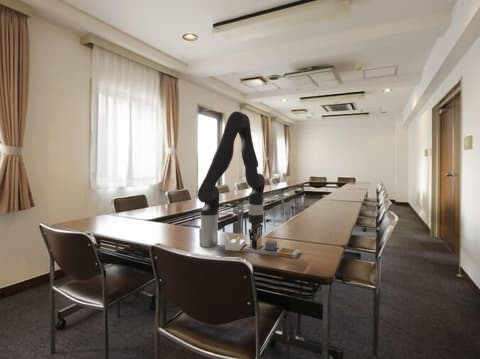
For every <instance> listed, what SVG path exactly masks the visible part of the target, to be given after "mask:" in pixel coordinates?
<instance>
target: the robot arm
mask: <svg viewBox="0 0 480 359" xmlns="http://www.w3.org/2000/svg"><path fill="white" fill-rule="evenodd" d="M238 135H239V138H240V143H241V145H240V146H241V149H240V153H241V158H242V163H243V166H244V171H245V174H244V175H245V180H246V183H247V185H248V186H249V187H250V188H251V192H250V193H249V196H248V223H249V224H251V226H250V228H249V229H248V235H249V236H248V237H249V241H250V240H252V248H256V247H257V241H256V240H257V236H259V237H262V236H263V227H264V225H263V223H264V192H265V191H264V190H265V186H266V185H265V183H266V180H265V177H264V175H263V174H261V173H258V167H259V162H258V158H257V154H256V151H255V147H254V143H253V138H252V129H251V122H250V118H249V116H248V115H247V114H246V113H244V112H241V111H237V110H236V111H232V112H231V113H230V114H229V115H228V117H227V119H226V123H225V127H224V130H223V133H222V136H221V138H220V141H219V143H218V146H217V149H216V151H215V153H214V155H213V157H212V161H211V163H210V166H209V167H208V170H207V173H206V175H205V178H204V179H203V181H202V183H201V184H200V186H199V188H198V190H197V198H198V200H199V201H200V202H201V203H204V205H203V207H202V208H201V209H200V228H199V232H198V233H199V246H201V247H203V248H214V247H217V246H218V245H219V238H218V236H219V233H218V230H219V227H218V226H219V224H218V223H219V221H218V220H219V219H218V218H219V217H218V215H219V214H218V212H219V209H220V191H219V188H218V187H217V186H216V184H217V183H218V181H219V180H220V179H221V177H222V176H223V175H224V174H225V172H226V171H227V170H228V168H229V166H230V164H231V162H232V159H233V156H234V152H235V151H234V147H235V145H234V144H235V140H236V138H237V136H238Z"/></svg>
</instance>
